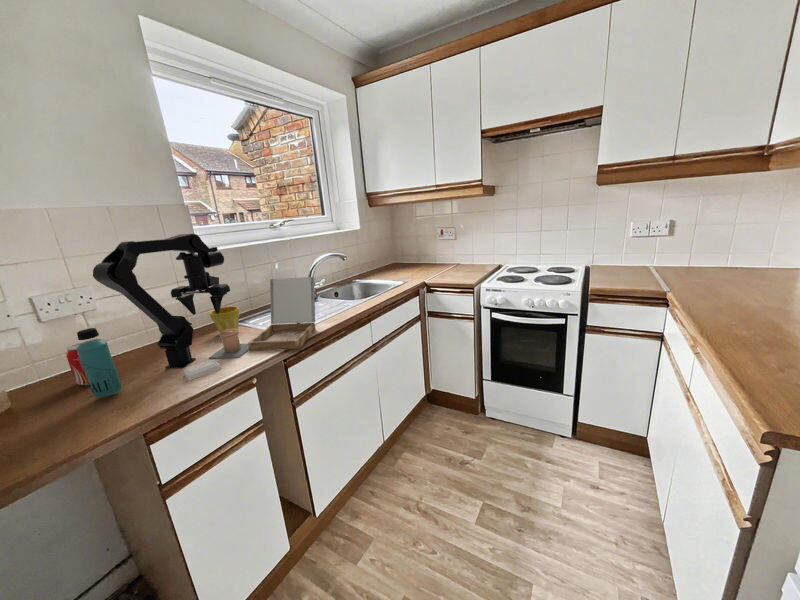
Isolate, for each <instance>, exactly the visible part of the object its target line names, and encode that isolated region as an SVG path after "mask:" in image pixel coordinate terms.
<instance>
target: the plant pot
mask: <svg viewBox="0 0 800 600" xmlns="http://www.w3.org/2000/svg"><path fill="white" fill-rule="evenodd" d="M239 309H240V308H239V307H238V306H235V305H231V306H230V305H229V306H223V307H220V313H219V314H217V313H216V312H215V309H212V310H211V311H210V312H209V316H210V319H211V321H212V322H213V323H214V324H215V326H216V328H217V331H218V332H219V333H220V332H222V331H224V330H227V329H238V330H239V317H240V310H239Z"/></svg>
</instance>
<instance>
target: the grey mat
mask: <svg viewBox="0 0 800 600" xmlns="http://www.w3.org/2000/svg"><path fill="white" fill-rule="evenodd" d="M240 346H241V349H240V350H239V351H237V352H234V353H225V351H224V347H222V348H220V349H219V350H217V351H216V352H214V353H213V354H212V355H211V356H209V357H208V359H210V360H214V359H237V358H238V359H239V358H242V356H244V355H245V354H246V353H247V352H248V351H249V346H248V343H240Z"/></svg>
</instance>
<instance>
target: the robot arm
mask: <svg viewBox="0 0 800 600" xmlns="http://www.w3.org/2000/svg"><path fill="white" fill-rule="evenodd" d="M169 251H173V252H179V254H178V255H177V257H176V258H175V260H177V261H182V262H183V265H184V270H185V273H186V275H183V277H184V280H187V281H188V285H181V286H177V287H175V288H172V289H171V290H170V296H171V298H174V299H175V300H177V301H179V303H181V304H182V305H183V306H184V307H185V308H186V309H187V311H189V312H190V314H192V315H193V316H195V315H196V314H197V312H196V308H195V302H194V296H195V294H209V295H210V296H209V299H210V302H211V304H212V307H213V310H215V312H216V313H217V314H219V313H220V308H222V307H221V306H222V301H223V298H224V296H226V295H227V294H228V293H229V292H231V289H230V288H231V287H230V285H228V284H227V283H220V277H218V276H215V275H213V276H212V275H210V273H209V271H206V269H209V268H214V267H217V266H218V267H219V266H222V265H223V264H224V263H225V256H224V255H223V253H222V252H221V251H220V250H219V249H218V247H217V246H211V247H209V246H208V245H207V244H205V242H204V241H203V240H202V238H201V237H200V236H199V235H198V234H197V233H183V234H177V235H174V236H173V235H172V236H170V237H168V238H162V239H152V240H141V241H140V240H138V241H135V240H134V241H133V240H131V241H130V240H129V241H128V240H127V241H121V242H120V243H119V244H118V245H117V246H116V247H115V249H114V250H113V251H112V252H111V251H110V253H109V254H108V255H107V256H105V257H104V258H103V260H102V261H101V262H100V263H99V262H98V264H96V265H94V267H93V270H92V278H94V280H95V281H97V282H98V283H100V284H102V285H103V286H105V287H107V288H109V289H111V290H113V291H116V292H118V293H120V294H121V295H123V296H124V297H125V298H126V299H128V301H130V303H132V304H133V305H134V306H136V307H137V308H138V309H139V310H141V312H143V313H144V314H145V315H146V316H147V317H149V319H151V320H152V321H153V322H154V323H155V324H156V325H157V327H158V330H159V332H160V333H161V337H159V339H158V342H157V346H158V347H159V349H163V350H164V349H165V350H164V352H165V356H166V360H167V363H168V364H167V365H165V369H183V368H185V367H187V366H188V365H190V364H191V363H193V362H194V361H196V360H197V357H192V353H191V349H190V347H191V346H192V345H193V336H194V335H193V334H194V328H193V326H192V325H193V323H191V322H190V321H188V319H187V318H186V317H185V316H184V315H173V314H171V313H170V312H169V311H168V310H167V309H166V308H165V307H164V306H163V305H161V304H160V302H158V301H157V300H156V299H155V298H154V297H153V296H152V295H151V294H150V293H148V291H146V290H145V289H144V288H143V287H142V286H141V285H140V284H139V282H138V278H137V276H136V274H135V273H134V272H133V270H134V269H135V267H136V266H137V263H138V259H139V256H140V255H144V254H150V253H151V254H153V253H159V252H169ZM186 252H187V253H186Z"/></svg>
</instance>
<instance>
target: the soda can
mask: <svg viewBox="0 0 800 600" xmlns="http://www.w3.org/2000/svg"><path fill="white" fill-rule="evenodd" d="M81 343H82V342H80V343H76V344H72V345H71V346H68V347H66V350H67V352H66V354H65V356H66V359H67V362H68V365H69V367H70V371H71V372H72V376H73V377H74V379H75V381H76V384H77V385H80V386H89V384H88V383H89V381H88V379H87V376H86V373H85V372H84V369H83V367H82V365H81V360H80V357H79V354H78V352H77V348H78V346H79V345H80V344H81Z"/></svg>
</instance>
